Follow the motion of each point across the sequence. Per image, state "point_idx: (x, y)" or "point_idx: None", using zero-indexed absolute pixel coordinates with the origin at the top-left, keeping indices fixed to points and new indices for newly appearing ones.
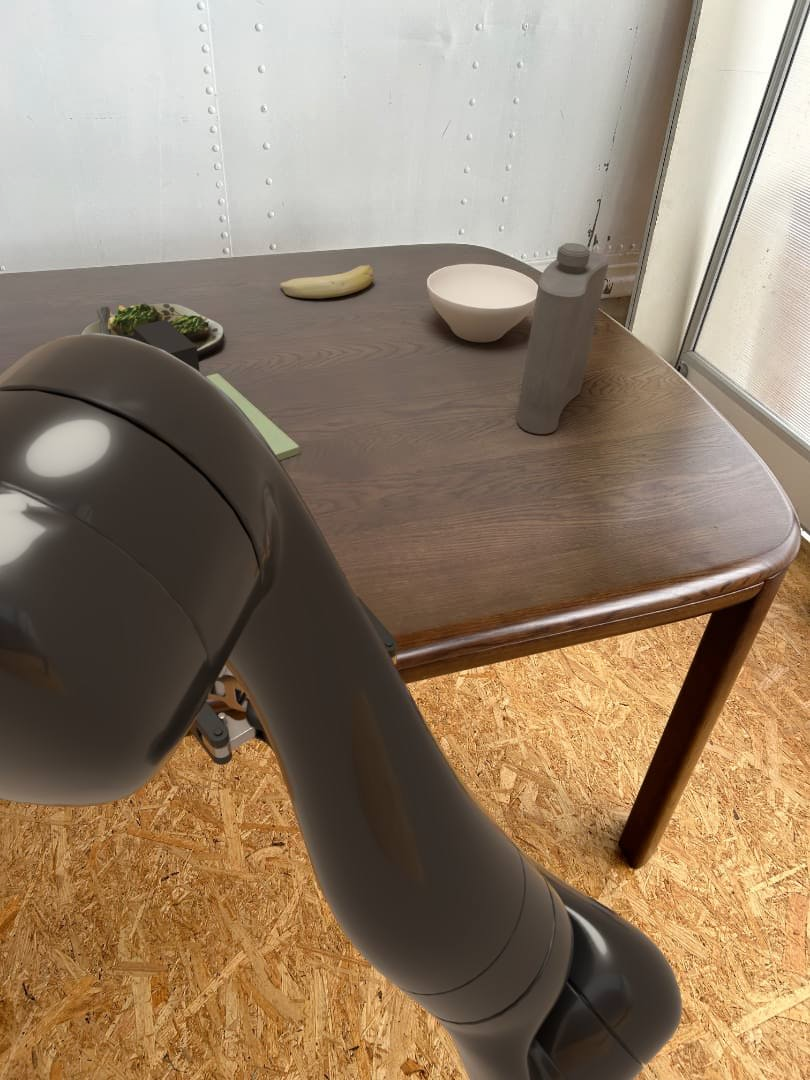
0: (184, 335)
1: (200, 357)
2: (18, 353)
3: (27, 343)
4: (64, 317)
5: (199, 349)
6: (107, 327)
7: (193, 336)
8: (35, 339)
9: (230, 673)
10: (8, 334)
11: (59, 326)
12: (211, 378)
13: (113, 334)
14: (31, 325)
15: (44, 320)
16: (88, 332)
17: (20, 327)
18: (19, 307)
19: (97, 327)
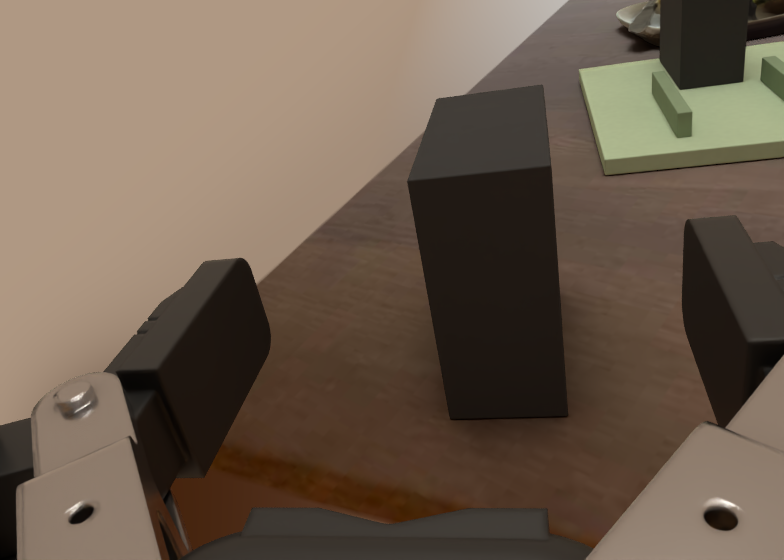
0: (762, 2)
1: (777, 29)
2: (539, 35)
3: (556, 28)
4: (615, 9)
5: (779, 15)
6: (654, 1)
7: (777, 4)
8: (567, 25)
9: (31, 493)
10: (543, 23)
11: (603, 15)
12: (782, 44)
13: (659, 9)
14: (573, 16)
15: (590, 12)
16: (628, 9)
17: (560, 18)
18: (573, 5)
19: (643, 5)
